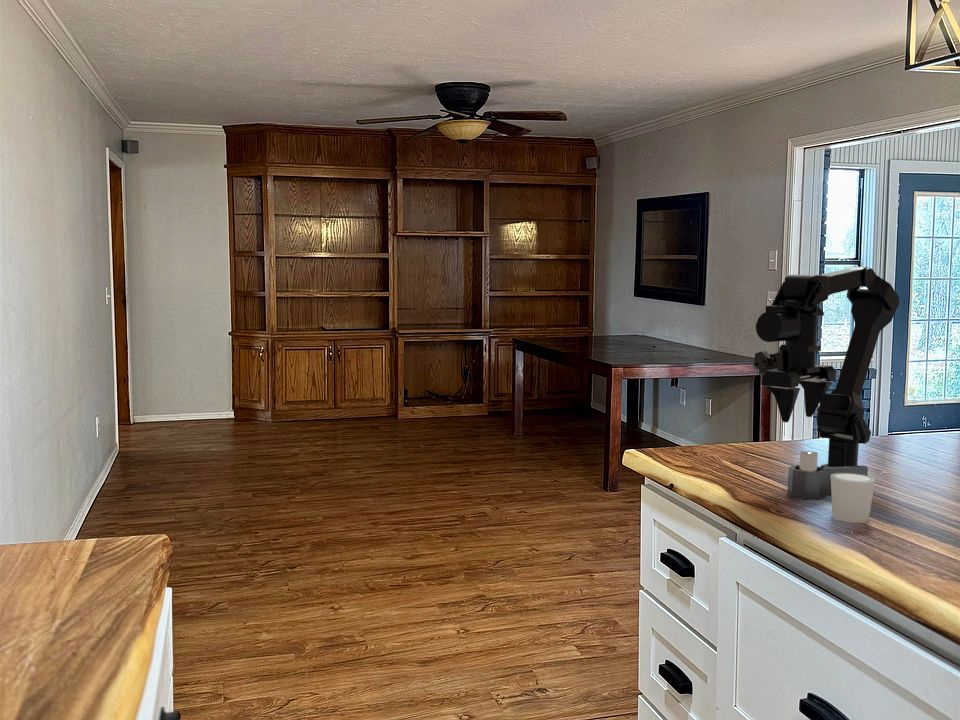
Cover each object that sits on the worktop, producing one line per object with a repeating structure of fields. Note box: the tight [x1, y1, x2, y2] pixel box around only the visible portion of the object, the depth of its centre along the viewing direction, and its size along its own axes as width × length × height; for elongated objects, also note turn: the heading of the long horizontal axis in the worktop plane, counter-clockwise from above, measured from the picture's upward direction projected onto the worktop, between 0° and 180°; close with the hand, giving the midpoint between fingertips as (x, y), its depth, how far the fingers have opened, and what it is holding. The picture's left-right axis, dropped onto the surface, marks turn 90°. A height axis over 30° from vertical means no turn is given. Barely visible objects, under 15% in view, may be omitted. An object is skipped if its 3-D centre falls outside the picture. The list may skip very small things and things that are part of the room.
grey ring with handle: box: [787, 464, 869, 501], centre depth 163 cm, size 14×13×5 cm
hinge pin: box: [798, 450, 819, 472], centre depth 160 cm, size 3×3×8 cm
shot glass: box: [830, 473, 876, 524], centre depth 146 cm, size 7×7×7 cm
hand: (797, 419), depth 171 cm, fingers open, 9 cm apart
